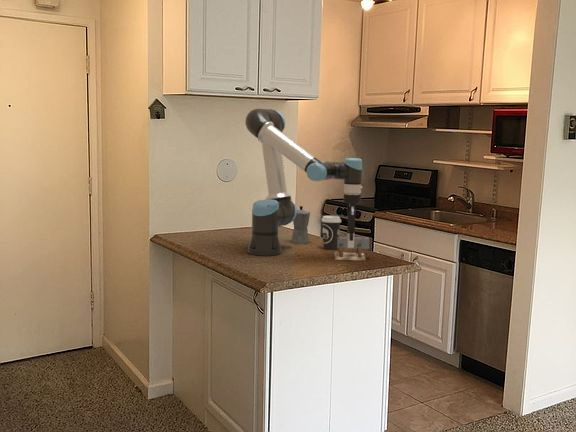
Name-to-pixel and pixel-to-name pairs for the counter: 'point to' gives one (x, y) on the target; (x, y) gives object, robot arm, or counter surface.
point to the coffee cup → (330, 231)
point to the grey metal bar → (357, 242)
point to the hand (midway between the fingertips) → (350, 246)
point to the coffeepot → (301, 227)
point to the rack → (350, 254)
